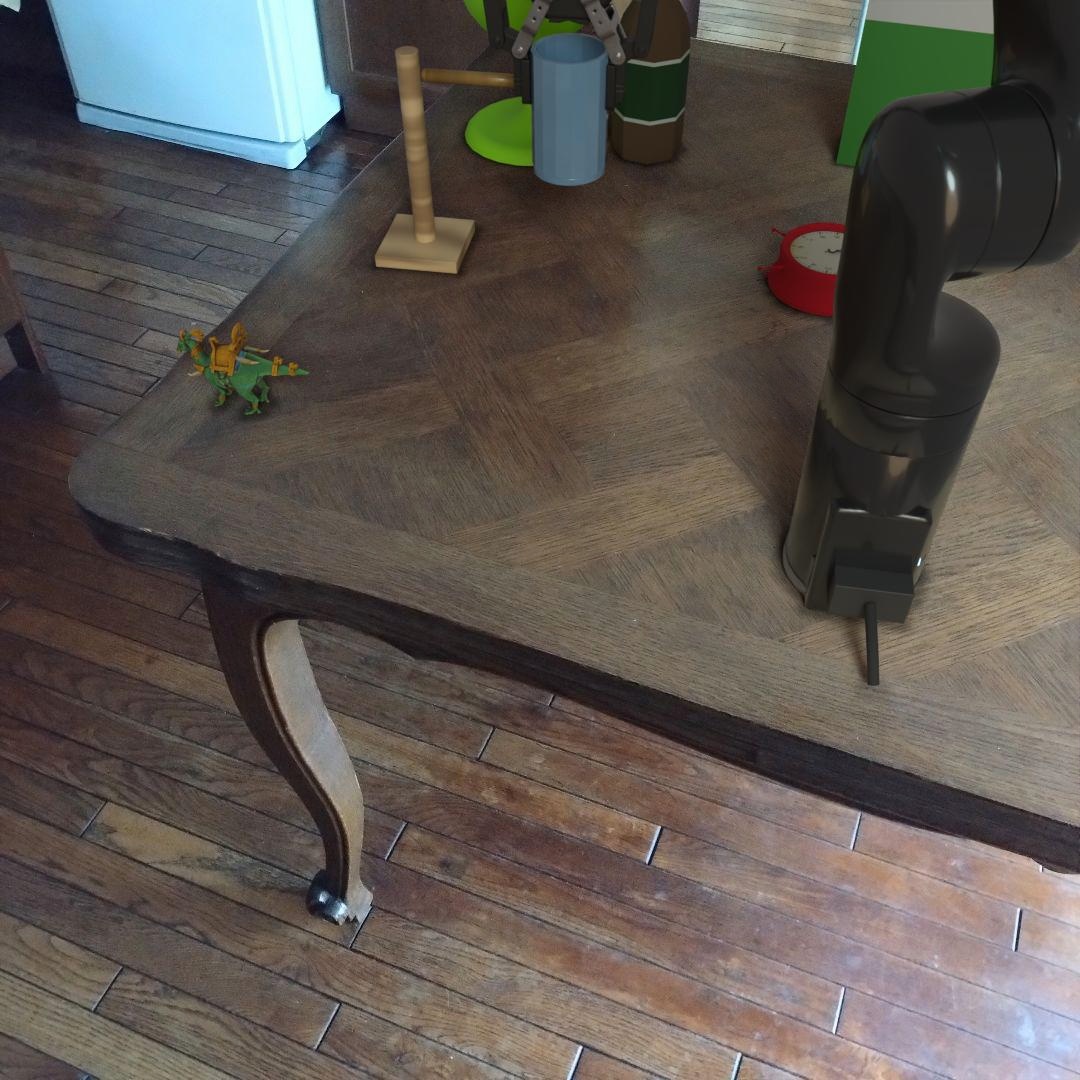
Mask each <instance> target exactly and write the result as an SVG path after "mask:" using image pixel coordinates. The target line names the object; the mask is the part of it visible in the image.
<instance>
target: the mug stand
mask: <svg viewBox="0 0 1080 1080" xmlns="http://www.w3.org/2000/svg"><path fill="white" fill-rule="evenodd" d="M394 55H395V64H396V65H395V66H396V74H397V84H398V92H399V101H400V111H401V119H402V129H403V138H404V147H405V156H406V164H407V165H406V166H407V173H408V174H407V175H408V185H409V193H410V202H411V213H412V214H407V213H406V214H405V213H396V215H395V216H394V218H393V221H392V222H391V224H390V226H389V228H388V230H387V232H386V234H385V236H384V237H383V239H382V241H381V243H380V245H379V247H378V249H377V250H376V252H375V253H374V254H375V255H374V261H375V266H376V267H377V268H387V269H388V268H389V269H398V270H399V269H400V270H411V271H421V272H432V273H433V272H434V273H445V274H458V272H459V269H460V267H461V265H462V262H463V260H464V258H465V256H466V253H467V251H468V248H469V246H470V244H471V242H472V239H473V237H474V234H475V232H476V224H475V223H476V221H475V219H466V218H455V217H443V216H435V212H434V203H433V202H434V201H433V192H432V181H431V169H430V159H429V158H430V157H429V147H428V138H427V137H428V136H427V127H426V116H425V107H424V95H423V86H422V85H423V84H422V83H423V82H424V83H435V84H449V85H464V86H465V85H467V86H481V87H495V88H509V89H514V73H509V72H508V73H507V72H492V71H477V70H476V71H475V70H463V69H462V70H459V69H444V68H431V67H430V68H429V67H427V68H425V67H424V68H423V69H422V70H421V64H420V63H421V62H420V51H419V49H418V47H416V46H413V45H403V46H400V47H397V48H396V49H395V50H394ZM422 81H423V82H422Z"/></svg>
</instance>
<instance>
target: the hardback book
mask: <svg viewBox="0 0 1080 1080" xmlns="http://www.w3.org/2000/svg"><path fill="white" fill-rule="evenodd" d="M993 47H994V23H993V3H992V0H868V3H867V8H866V13H865V17H864V23H863V28H862V33H861V37H860V43H859V47H858V52H857V57H856V63H855V68H854V73H853V78H852V83H851V87H850V93H849V98H848V101H847V102H848V103H847V108H846V113H845V118H844V122H843V127H842V133H841V137H840V142H839V147H838V153H837V156H836V157H837V158H836V163H835V164H836V165H842V166H843V165H844V166H849V167H855V163H856V160H857V156H858V152H859V149H860V146H861V143H862V141H863V138H864V136H865V133H866V131H867V129H868V128H869V126H870V124H871V122H872V121H873V119H874V118H875V116H876V115H877V114H878V113H879V112H880V110H882V109H883V108H884V107H885V106H886V105H887V104H889V103H891V102H892V101H894V100H897V99H900V98H903V97H907V96H913V95H919V94H927V93H935V92H945V91H951V90H960V89H968V88H977V87H985V86H990V85H991V78H992V67H993Z"/></svg>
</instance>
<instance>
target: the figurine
mask: <svg viewBox="0 0 1080 1080" xmlns="http://www.w3.org/2000/svg"><path fill="white" fill-rule="evenodd" d="M238 331H239V333H238ZM244 331H245V327H244V324H243V322H237V323H236V324H234V326H233V328H232V331H231V335H230V337H231V342H230V344H227V343H219V339H218V337H217V336H212V337H209V338H208V341H209V343H210V345H211V348H212V351H211V352H210V353H208V352H207V351H206V349H205V347H204V346H203V344H202V343H201V342H203V338H204V336H205V333H204V332H203V331H202V330H200V329H199V328H193V329H192V330H190V332H188V330H187V329H185V328H184V329H181V330H180V332H179V337H180V338H179V340H178V342H177V346H176V349H175V350H176V353H177V354H179V355H180V354H182V352H188V351H190V356H191V358H192V360H193V363H192V365H193V367H194V368H195V370H196V371H195V372H193V373H188V372H187V373H186V374H187V375H188V376H190V377H192V378H194V377H196V378H197V377H200V376H202V375H204V376H205V379H206V380H207V382H208V383H209V384H210V385H211V386H212V387H213V388H214V389H216V390H217V391H218V392H219V393H220V394H219V396H218V400H215V404H214V407H219V406H222V405H224V403H225V402H226V400H227V399H226V398H227V396H231V395H232V394H233V392H234V390H235V391H236V392H237V393H238V396H240V397H241V398H243V399H244V400H246V401H249V402H251V406H248V407H247V408H246V409H245V411H244V415H246V416H248V415H254V413H256V412H257V414H261V413H262V411H261V409H259V402H265V401H266V403H267V404H268V403H270V400H269V398H268V392H269V389H270V387H269V386H268V385H267V384H266V383H265V381H264V377H265V376H271V377H279V376H285V375H286V376H291V377H294V376H295V377H296V376H307V375H309V374H310V371H307V370H306V369H303V368H299V364H298V363H295V362H289V364H288V365H284V364H283V363H284V359H283V358H281V357H279V356H277V355H276V356H274V358H273V360H268V359H266V358H263V357H260V356H258V355H255V354H253V353H256V354H266V353H268V352H269V351H270V349H261V348H257V347H254V346H253V347H252V346H248V345H245V344H244V341H247V340H248V336H249V333H247V332H244ZM184 333H185V334H184ZM192 337H196V339H193V338H192ZM255 386H257V387H259V388H260V389H261V394H258V396H256V395H255V394H254V393H253V389H254V387H255ZM224 389H227V390H226V391H225V390H224Z"/></svg>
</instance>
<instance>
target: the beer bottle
mask: <svg viewBox="0 0 1080 1080" xmlns="http://www.w3.org/2000/svg"><path fill="white" fill-rule="evenodd" d="M640 6H641V2H638V1H636V0H631V1H630V3H629V4H628V6H627V7H626V8H625V10H624V12H622V16H621V19H620V23H621V25H622V28H623V30H624V32H625V35H626V37H630V36H634V35H636V30H637V24H638V18H639V12H640ZM691 31H692V29H691V25H690V21H689V18H688V14H687V12H686V10H685V8H684V6H683V5H682V3H681V0H659V4H658V10H657V16H656V21H655V27H654V33H653V39H652V43H651V45H650V50H649V53H648V55H647V56H646V57H645V58H643V59H640V58H634V59H631V60H629V61H628V62H627V77H626V92H625V95H624V98H623V100H622V103H621V104H616V107H615V110H614V111H612V118H611V119H612V121H611V122H612V123H611V141H612V142H611V143H612V144H611V145H612V147H613V149H614V150H615V152H616V153H617V154H618V155H619V157H621V158H622V159H623V160H624V161H628V162H633V163H637V164H642V165H643V164H644V165H652V164H656V163H657V164H658V163H662V162H667V161H671V160H672V159H673V157H674V156H675V155H676V153H677V152H678V151H679V149H680V148H681V146H682V142H683V141H682V139H683V133H684V132H683V131H684V124H685V113H686V101H687V90H688V81H689V80H688V79H689V67H690V58H691V57H690V56H691V33H692V32H691Z"/></svg>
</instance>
